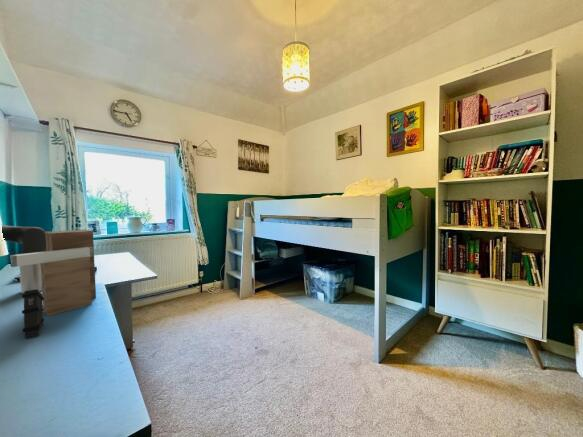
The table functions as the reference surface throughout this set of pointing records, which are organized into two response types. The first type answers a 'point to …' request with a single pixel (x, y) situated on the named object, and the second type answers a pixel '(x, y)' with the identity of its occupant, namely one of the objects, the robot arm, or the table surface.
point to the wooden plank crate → (68, 273)
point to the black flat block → (32, 313)
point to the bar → (50, 256)
